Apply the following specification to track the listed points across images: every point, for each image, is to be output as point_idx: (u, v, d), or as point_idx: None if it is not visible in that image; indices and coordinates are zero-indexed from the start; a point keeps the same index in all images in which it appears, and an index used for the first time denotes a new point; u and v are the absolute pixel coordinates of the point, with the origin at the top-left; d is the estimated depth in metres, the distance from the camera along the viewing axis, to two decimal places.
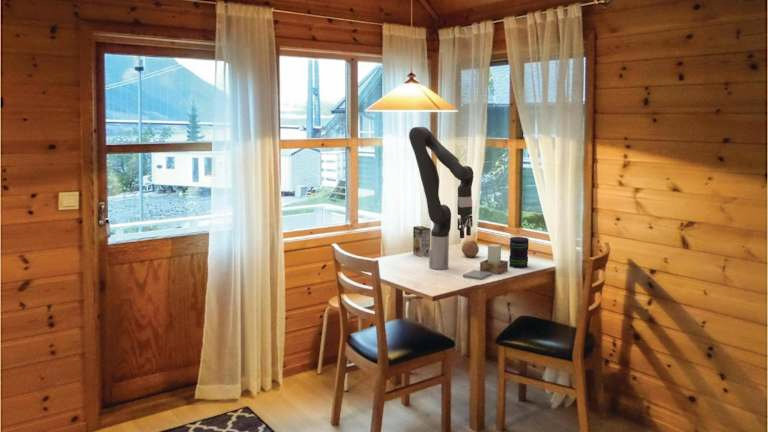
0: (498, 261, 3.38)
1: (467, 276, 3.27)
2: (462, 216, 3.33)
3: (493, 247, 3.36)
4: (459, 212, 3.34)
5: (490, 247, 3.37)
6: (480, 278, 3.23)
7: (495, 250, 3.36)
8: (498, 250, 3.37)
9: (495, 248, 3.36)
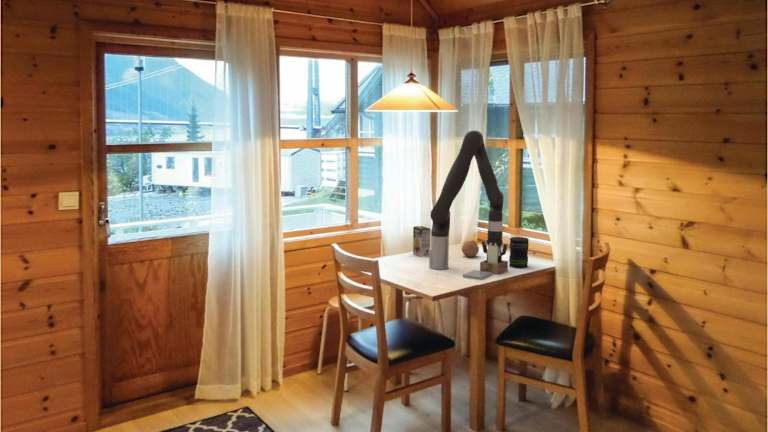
0: None
1: (467, 276, 3.27)
2: (501, 240, 3.36)
3: (493, 247, 3.36)
4: (499, 236, 3.35)
5: (490, 247, 3.37)
6: (480, 278, 3.23)
7: (495, 250, 3.36)
8: None
9: (495, 248, 3.36)
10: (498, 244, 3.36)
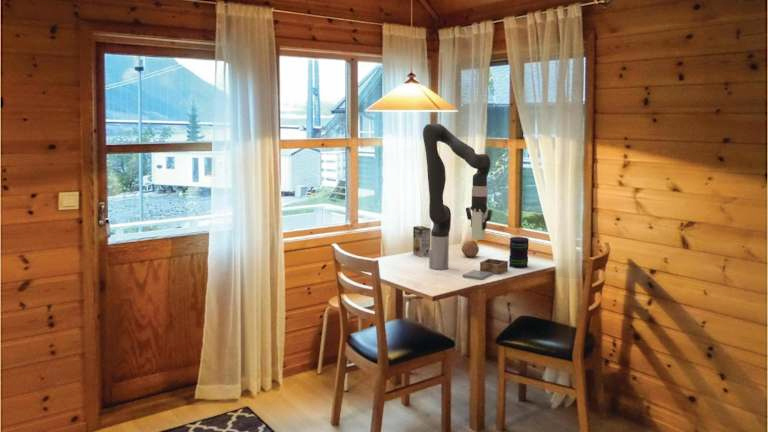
0: None
1: (467, 276, 3.27)
2: (486, 205, 3.23)
3: (477, 213, 3.23)
4: (484, 202, 3.22)
5: (474, 213, 3.24)
6: (480, 278, 3.23)
7: (479, 216, 3.23)
8: None
9: (479, 214, 3.23)
10: (482, 210, 3.23)
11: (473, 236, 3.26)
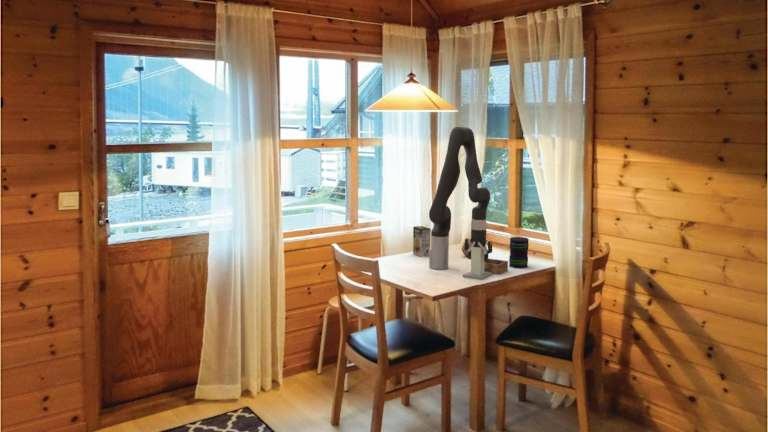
0: (482, 263, 3.28)
1: (467, 276, 3.27)
2: (485, 239, 3.26)
3: (476, 249, 3.26)
4: (483, 235, 3.24)
5: (473, 249, 3.27)
6: (480, 278, 3.23)
7: (478, 252, 3.26)
8: (482, 252, 3.27)
9: (478, 250, 3.26)
10: (482, 242, 3.26)
11: (472, 271, 3.29)
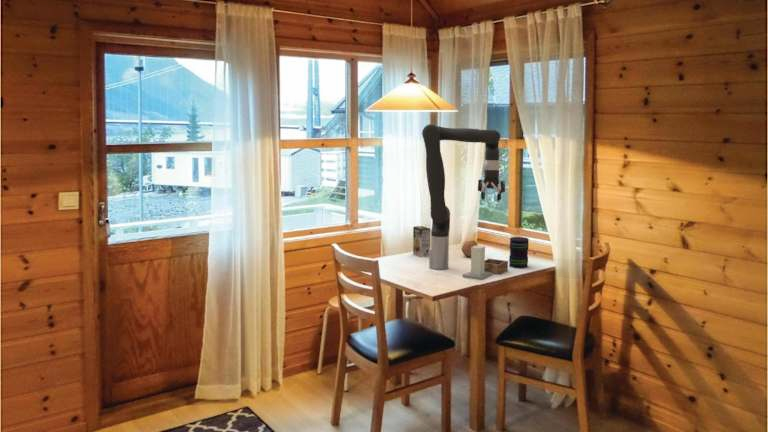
0: (482, 263, 3.28)
1: (467, 276, 3.27)
2: (498, 179, 3.39)
3: (476, 249, 3.26)
4: (496, 175, 3.37)
5: (473, 249, 3.27)
6: (480, 278, 3.23)
7: (478, 252, 3.26)
8: (482, 252, 3.27)
9: (478, 250, 3.26)
10: (495, 182, 3.38)
11: (472, 271, 3.29)
